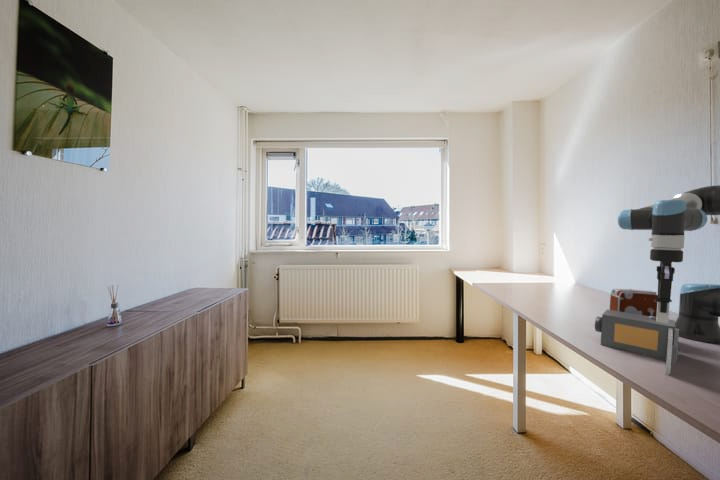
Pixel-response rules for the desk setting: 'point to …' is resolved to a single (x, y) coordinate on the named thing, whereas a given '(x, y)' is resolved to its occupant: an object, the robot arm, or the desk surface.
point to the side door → (670, 352)
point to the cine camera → (634, 301)
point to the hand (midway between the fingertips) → (662, 321)
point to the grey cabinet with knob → (636, 333)
